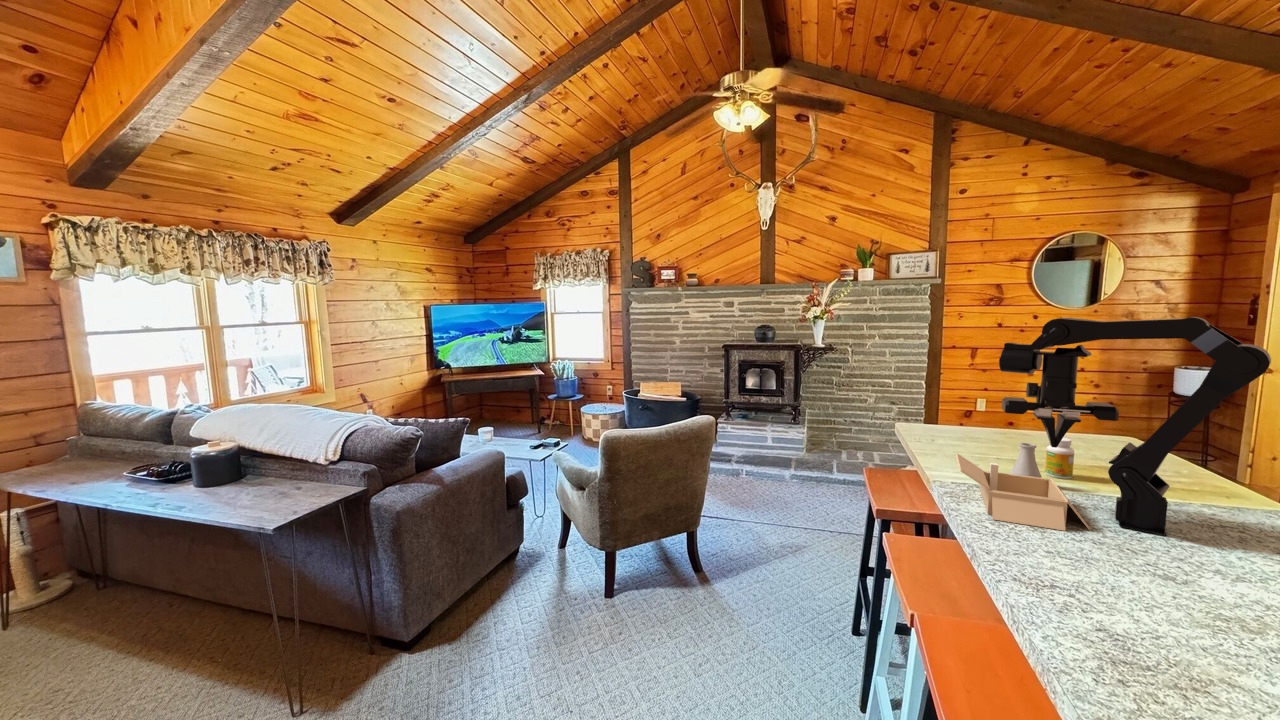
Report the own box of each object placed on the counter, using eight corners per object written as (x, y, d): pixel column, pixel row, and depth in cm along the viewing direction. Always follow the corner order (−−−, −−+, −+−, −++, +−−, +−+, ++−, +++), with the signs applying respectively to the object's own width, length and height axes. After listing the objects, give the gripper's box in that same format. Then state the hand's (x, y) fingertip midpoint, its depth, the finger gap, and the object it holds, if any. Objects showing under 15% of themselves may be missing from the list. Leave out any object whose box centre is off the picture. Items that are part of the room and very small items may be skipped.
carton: (1067, 498, 112) (1068, 476, 111) (1095, 536, 94) (1097, 510, 93) (978, 486, 120) (979, 466, 119) (989, 519, 102) (990, 495, 101)
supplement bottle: (1040, 474, 127) (1042, 437, 126) (1051, 470, 130) (1054, 434, 129) (1065, 480, 123) (1068, 442, 122) (1076, 477, 125) (1079, 439, 124)
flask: (1052, 489, 118) (1055, 448, 116) (1021, 489, 118) (1024, 449, 117) (1028, 478, 125) (1031, 440, 124) (999, 479, 125) (1002, 440, 124)
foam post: (995, 493, 115) (997, 463, 115) (996, 495, 114) (998, 465, 113) (988, 492, 116) (990, 462, 115) (989, 494, 115) (991, 464, 114)
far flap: (982, 469, 116) (956, 453, 118) (989, 488, 104) (961, 470, 107) (981, 470, 116) (955, 454, 118) (988, 490, 104) (959, 471, 107)
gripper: (1104, 373, 108) (1098, 442, 110) (1000, 369, 117) (996, 433, 119) (1122, 380, 99) (1116, 456, 100) (1007, 376, 108) (1003, 445, 109)
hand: (1053, 446), depth 108 cm, fingers closed
